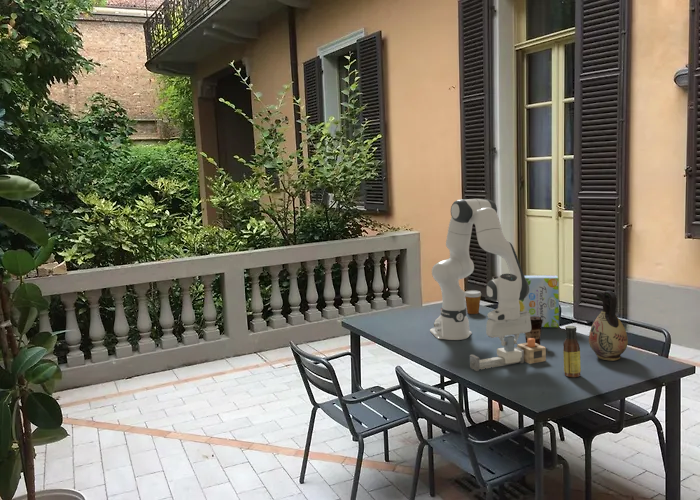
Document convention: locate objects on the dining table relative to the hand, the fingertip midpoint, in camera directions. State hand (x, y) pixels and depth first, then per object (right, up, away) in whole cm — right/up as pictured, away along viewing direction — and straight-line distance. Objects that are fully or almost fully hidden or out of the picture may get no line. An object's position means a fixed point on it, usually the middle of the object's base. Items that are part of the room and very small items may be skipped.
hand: (509, 344), depth 258 cm
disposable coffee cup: (+2, +4, +85) cm, 86 cm away
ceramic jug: (+43, -6, +2) cm, 43 cm away
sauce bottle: (+21, -10, -16) cm, 28 cm away
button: (+11, -3, +4) cm, 12 cm away
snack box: (+28, +1, +55) cm, 62 cm away
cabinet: (+11, -7, +5) cm, 14 cm away
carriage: (0, -7, +1) cm, 7 cm away
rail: (-5, -9, -1) cm, 10 cm away
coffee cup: (+17, -4, +24) cm, 30 cm away
